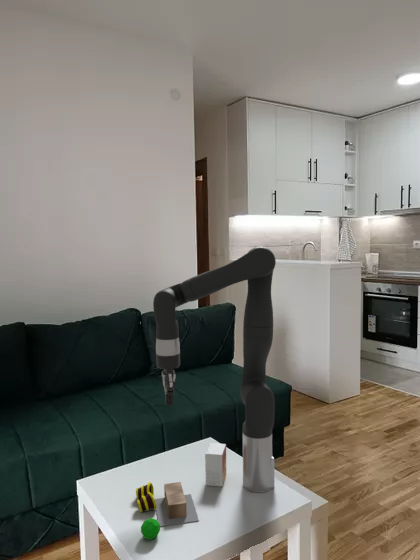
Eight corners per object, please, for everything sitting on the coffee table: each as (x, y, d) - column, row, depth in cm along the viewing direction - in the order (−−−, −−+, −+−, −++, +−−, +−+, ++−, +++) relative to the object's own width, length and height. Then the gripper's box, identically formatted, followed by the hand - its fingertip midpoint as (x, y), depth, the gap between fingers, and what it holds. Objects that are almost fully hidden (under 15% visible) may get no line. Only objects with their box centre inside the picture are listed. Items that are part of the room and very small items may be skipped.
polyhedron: (137, 539, 115) (136, 522, 114) (149, 528, 119) (148, 512, 118) (152, 546, 112) (152, 528, 112) (164, 534, 116) (163, 517, 116)
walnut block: (180, 481, 134) (186, 502, 123) (180, 494, 134) (186, 516, 123) (164, 484, 133) (168, 505, 122) (164, 496, 133) (168, 519, 122)
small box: (222, 487, 138) (222, 455, 137) (205, 485, 139) (204, 453, 138) (226, 474, 146) (226, 443, 145) (210, 472, 147) (209, 442, 146)
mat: (190, 494, 134) (190, 494, 134) (198, 521, 122) (198, 520, 122) (154, 499, 132) (154, 499, 132) (159, 527, 119) (159, 526, 119)
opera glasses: (137, 498, 134) (134, 484, 134) (154, 493, 135) (151, 478, 135) (140, 518, 125) (136, 502, 124) (158, 512, 126) (154, 496, 125)
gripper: (183, 356, 133) (184, 411, 135) (176, 346, 146) (178, 396, 148) (158, 358, 132) (159, 414, 133) (154, 347, 144) (155, 398, 146)
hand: (169, 404), depth 140 cm, fingers closed
